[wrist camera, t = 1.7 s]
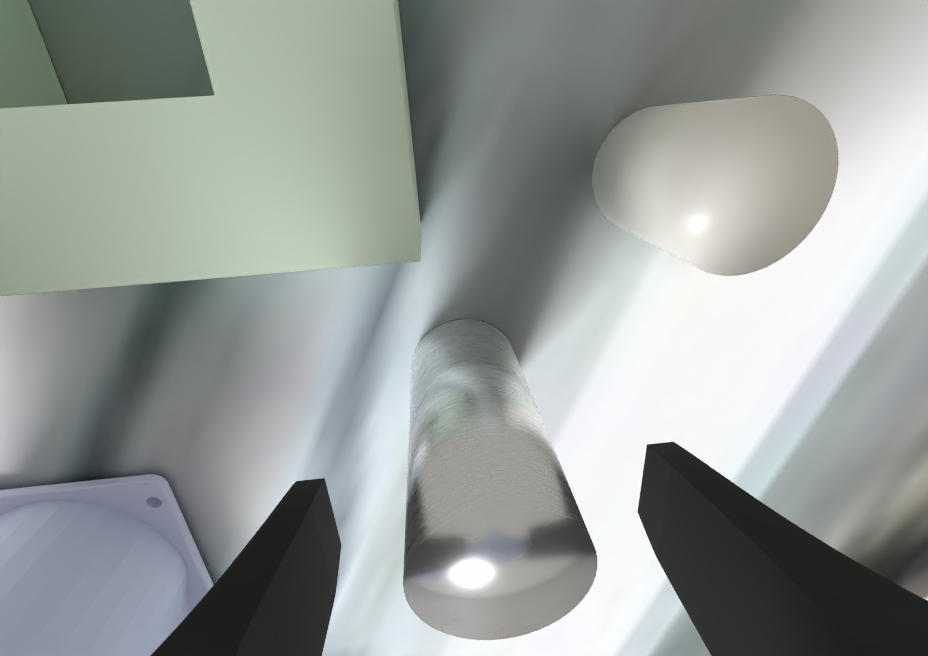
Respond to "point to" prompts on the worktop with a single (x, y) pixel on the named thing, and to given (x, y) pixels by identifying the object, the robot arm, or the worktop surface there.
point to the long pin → (486, 495)
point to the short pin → (719, 179)
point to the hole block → (213, 155)
